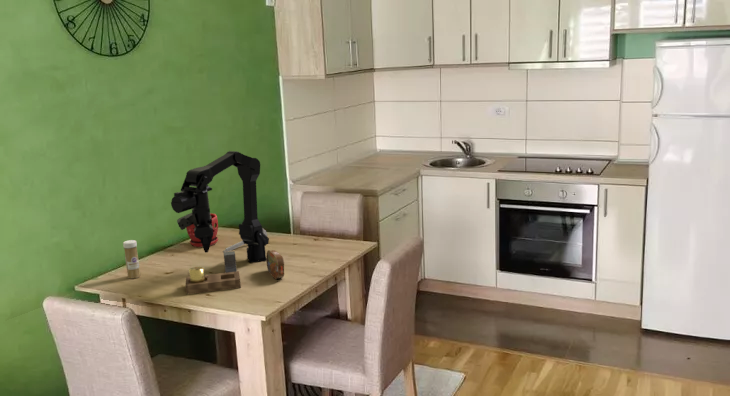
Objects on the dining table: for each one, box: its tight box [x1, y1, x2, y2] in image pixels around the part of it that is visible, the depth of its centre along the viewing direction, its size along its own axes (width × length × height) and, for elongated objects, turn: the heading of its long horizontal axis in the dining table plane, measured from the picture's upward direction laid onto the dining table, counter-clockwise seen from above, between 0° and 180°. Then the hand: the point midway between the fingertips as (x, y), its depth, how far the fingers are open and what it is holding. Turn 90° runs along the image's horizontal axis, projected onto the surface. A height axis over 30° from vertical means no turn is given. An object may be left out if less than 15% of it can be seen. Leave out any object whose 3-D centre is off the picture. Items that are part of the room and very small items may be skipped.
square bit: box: [223, 250, 238, 273], centre depth 248 cm, size 4×4×7 cm
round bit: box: [188, 266, 205, 284], centre depth 232 cm, size 5×5×7 cm
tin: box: [266, 249, 285, 280], centre depth 241 cm, size 15×3×8 cm, turn 23°
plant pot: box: [185, 212, 219, 248], centre depth 284 cm, size 13×13×12 cm
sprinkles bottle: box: [122, 239, 141, 279], centre depth 246 cm, size 5×5×13 cm
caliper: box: [222, 227, 268, 253], centre depth 279 cm, size 20×1×6 cm, turn 129°
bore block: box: [185, 270, 242, 295], centre depth 233 cm, size 18×9×3 cm, turn 103°
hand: (206, 248), depth 239 cm, fingers open, 9 cm apart
